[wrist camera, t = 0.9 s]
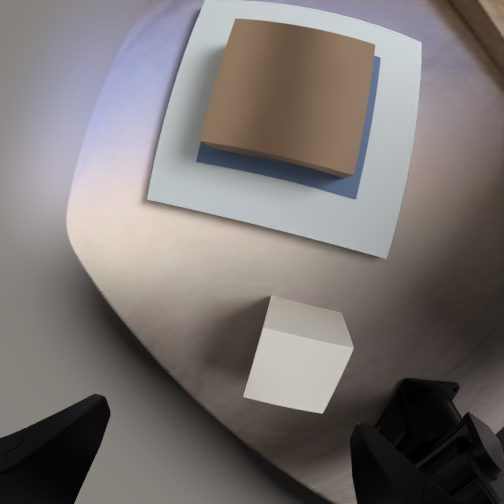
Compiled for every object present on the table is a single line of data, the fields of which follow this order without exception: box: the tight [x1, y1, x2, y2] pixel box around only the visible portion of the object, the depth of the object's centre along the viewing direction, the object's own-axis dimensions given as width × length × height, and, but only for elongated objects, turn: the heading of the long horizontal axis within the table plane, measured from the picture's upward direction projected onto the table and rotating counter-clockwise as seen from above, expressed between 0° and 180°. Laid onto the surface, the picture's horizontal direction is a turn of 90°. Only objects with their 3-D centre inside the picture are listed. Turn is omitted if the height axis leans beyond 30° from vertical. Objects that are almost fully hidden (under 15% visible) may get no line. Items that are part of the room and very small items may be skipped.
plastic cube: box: [243, 295, 354, 414], centre depth 17 cm, size 5×5×5 cm
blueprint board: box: [147, 0, 422, 259], centre depth 15 cm, size 16×16×4 cm
